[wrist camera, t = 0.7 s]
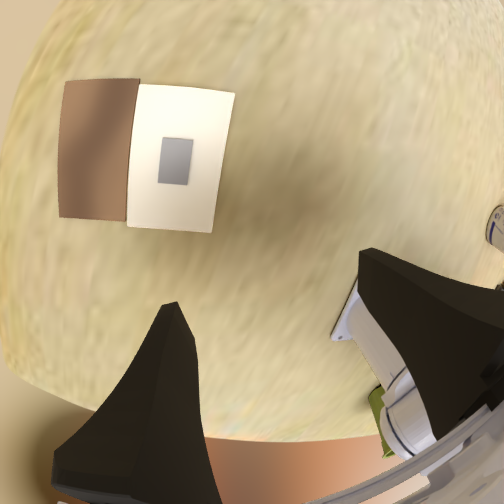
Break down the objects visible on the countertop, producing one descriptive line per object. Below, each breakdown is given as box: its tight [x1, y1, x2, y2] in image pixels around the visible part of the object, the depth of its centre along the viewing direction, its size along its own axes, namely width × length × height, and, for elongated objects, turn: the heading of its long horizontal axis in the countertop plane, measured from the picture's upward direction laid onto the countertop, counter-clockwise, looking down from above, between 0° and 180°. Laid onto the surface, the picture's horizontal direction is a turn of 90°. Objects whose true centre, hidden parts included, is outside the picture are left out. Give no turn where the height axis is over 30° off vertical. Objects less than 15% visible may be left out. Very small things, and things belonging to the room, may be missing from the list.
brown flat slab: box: [58, 79, 140, 222], centre depth 14 cm, size 5×9×1 cm, turn 169°
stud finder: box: [127, 84, 235, 233], centre depth 14 cm, size 5×8×3 cm, turn 169°
